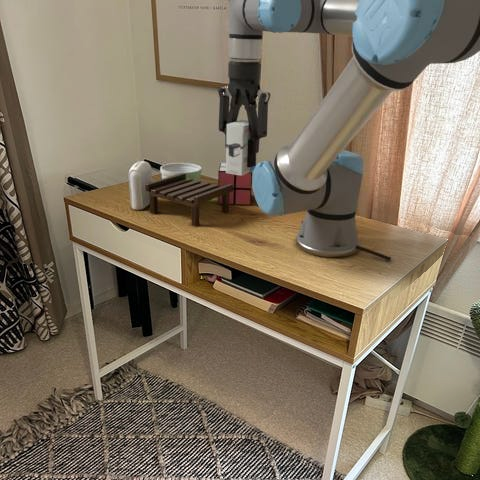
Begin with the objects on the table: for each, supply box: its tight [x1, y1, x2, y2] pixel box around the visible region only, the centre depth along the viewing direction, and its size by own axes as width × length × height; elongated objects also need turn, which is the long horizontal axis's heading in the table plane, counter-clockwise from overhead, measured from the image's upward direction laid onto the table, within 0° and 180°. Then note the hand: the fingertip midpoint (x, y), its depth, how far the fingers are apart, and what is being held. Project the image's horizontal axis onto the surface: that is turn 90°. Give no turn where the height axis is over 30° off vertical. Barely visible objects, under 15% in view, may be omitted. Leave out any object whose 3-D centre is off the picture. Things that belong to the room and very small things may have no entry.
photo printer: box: [128, 160, 153, 211], centre depth 140 cm, size 10×4×12 cm, turn 170°
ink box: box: [225, 119, 258, 176], centre depth 120 cm, size 8×5×12 cm, turn 153°
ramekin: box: [159, 162, 203, 181], centre depth 157 cm, size 13×13×7 cm
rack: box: [145, 173, 233, 227], centre depth 137 cm, size 19×16×8 cm
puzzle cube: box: [217, 162, 253, 206], centre depth 148 cm, size 10×10×10 cm
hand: (241, 163), depth 122 cm, fingers closed on ink box, 5 cm apart
